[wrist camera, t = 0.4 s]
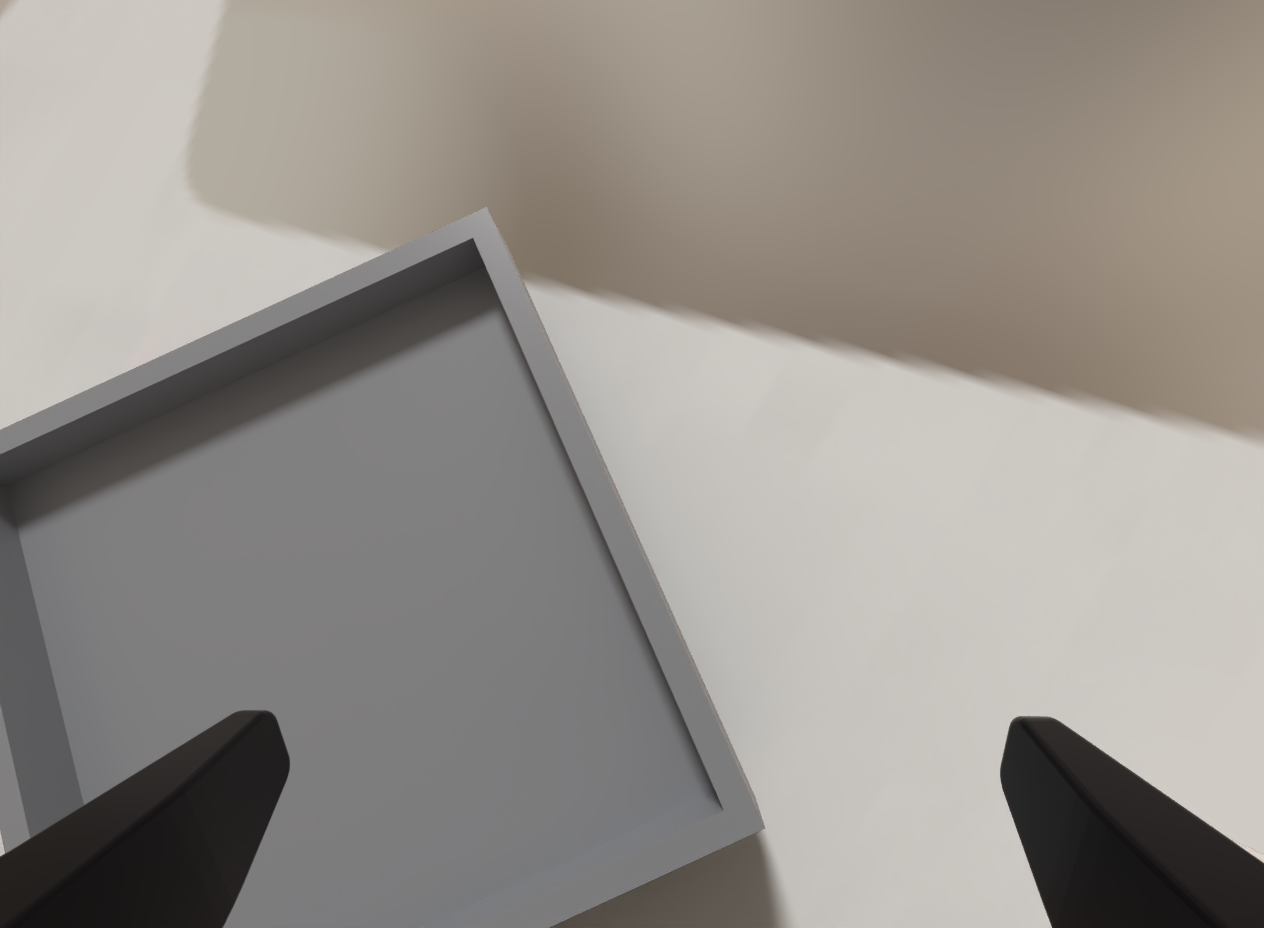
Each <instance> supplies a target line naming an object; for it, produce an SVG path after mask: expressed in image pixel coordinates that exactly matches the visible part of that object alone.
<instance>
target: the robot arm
mask: <svg viewBox="0 0 1264 928" xmlns="http://www.w3.org/2000/svg"><path fill="white" fill-rule="evenodd" d="M289 771H290V757H289V754H288V751H287V748H286V745H285V742H284V739H283V736H282V733H281V730H280V727H279V724H278V721H277V718H276V716H275V715H274V714H273V713H272V712H270V711H267V710H242V711H237V712H235V713H233V714H231V715H229V716H228V717H226V718H224V719H223V720H221V721H220V722H218V723H216V724H215V725H213V726H211V727H210V728H208V729H207V730H205V731H203V732H202V733H200V734H198V735H197V736H195V737H194V738H192V739H190V740H189V741H187V742H185V743H184V744H182V745H181V746H179V747H177V748H176V749H174V750H172V751H171V752H169V753H168V754H166V755H164V756H163V757H161V758H160V759H158V760H156V761H155V762H153V763H151V764H150V765H148V766H147V767H145V768H143V769H142V770H140V771H138V772H137V773H135V774H134V775H132V776H130V777H129V778H127V779H125V780H124V781H122V782H121V783H119V784H117V785H116V786H114V787H112V788H111V789H109V790H108V791H106V792H104V793H103V794H101V795H99V796H98V797H96V798H95V799H93V800H91V801H90V802H88V803H86V804H85V805H83V806H82V807H80V808H78V809H77V810H75V811H73V812H72V813H70V814H69V815H67V816H65V817H64V818H62V819H61V820H59V821H57V822H56V823H54V824H52V825H51V826H49V827H48V828H46V829H44V830H43V831H41V832H39V833H38V834H36V835H35V836H33V837H31V838H30V839H28V840H26V841H25V842H23V843H22V844H20V845H18V846H17V847H15V848H13V849H12V850H10V851H9V852H7V853H5V854H4V855H2V856H0V928H223V927H224V925H225V923H226V921H227V919H228V917H229V915H230V913H231V910H232V908H233V906H234V904H235V902H236V900H237V898H238V896H239V893H240V891H241V889H242V887H243V884H244V882H245V880H246V877H247V875H248V873H249V870H250V868H251V865H252V863H253V861H254V858H255V856H256V853H257V851H258V848H259V846H260V844H261V841H262V839H263V836H264V834H265V832H266V829H267V827H268V824H269V822H270V820H271V817H272V815H273V812H274V810H275V808H276V805H277V803H278V800H279V798H280V796H281V793H282V791H283V788H284V786H285V784H286V781H287V778H288V775H289ZM1000 778H1001V784H1002V789H1003V792H1004V795H1005V798H1006V800H1007V803H1008V806H1009V809H1010V812H1011V814H1012V817H1013V820H1014V823H1015V826H1016V829H1017V831H1018V834H1019V837H1020V840H1021V843H1022V845H1023V848H1024V851H1025V854H1026V857H1027V860H1028V862H1029V865H1030V868H1031V871H1032V874H1033V877H1034V879H1035V882H1036V885H1037V888H1038V891H1039V893H1040V896H1041V899H1042V902H1043V905H1044V908H1045V910H1046V913H1047V915H1048V918H1049V921H1050V923H1051V926H1052V928H1264V862H1262V861H1261V860H1259V859H1258V858H1256V857H1255V856H1254V855H1252V854H1251V853H1249V852H1248V851H1246V850H1245V849H1243V848H1242V847H1240V846H1239V845H1238V844H1236V843H1235V842H1233V841H1232V840H1230V839H1229V838H1227V837H1226V836H1225V835H1223V834H1222V833H1220V832H1219V831H1217V830H1216V829H1214V828H1213V827H1212V826H1210V825H1209V824H1207V823H1206V822H1204V821H1203V820H1201V819H1200V818H1199V817H1197V816H1196V815H1194V814H1193V813H1191V812H1190V811H1188V810H1187V809H1186V808H1184V807H1183V806H1181V805H1180V804H1178V803H1177V802H1175V801H1174V800H1173V799H1171V798H1170V797H1168V796H1167V795H1165V794H1164V793H1162V792H1161V791H1160V790H1158V789H1157V788H1155V787H1154V786H1152V785H1151V784H1149V783H1148V782H1146V781H1145V780H1144V779H1142V778H1141V777H1139V776H1138V775H1136V774H1135V773H1133V772H1132V771H1131V770H1129V769H1128V768H1126V767H1125V766H1123V765H1122V764H1120V763H1119V762H1118V761H1116V760H1115V759H1113V758H1112V757H1110V756H1109V755H1107V754H1106V753H1105V752H1103V751H1102V750H1100V749H1099V748H1097V747H1096V746H1094V745H1093V744H1092V743H1090V742H1089V741H1087V740H1086V739H1084V738H1083V737H1081V736H1080V735H1079V734H1077V733H1076V732H1074V731H1073V730H1071V729H1070V728H1068V727H1067V726H1066V725H1064V724H1063V723H1061V722H1060V721H1058V720H1056V719H1054V718H1051V717H1040V716H1019V717H1016V718H1014V719H1013V720H1012V722H1011V724H1010V726H1009V731H1008V735H1007V740H1006V744H1005V749H1004V753H1003V758H1002V762H1001V768H1000Z"/></svg>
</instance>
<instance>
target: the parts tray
mask: <svg viewBox="0 0 1264 928" xmlns="http://www.w3.org/2000/svg"><path fill="white" fill-rule="evenodd" d="M242 710H267V711H270V712H272V713H273V714H274V715H275V716H276V718H277V721H278V724H279V727H280V730H281V733H282V736H283V739H284V742H285V745H286V748H287V751H288V754H289V757H290V771H289V775H288V778H287V781H286V784H285V786H284V788H283V791H282V793H281V796H280V798H279V800H278V803H277V805H276V808H275V810H274V812H273V815H272V817H271V820H270V822H269V824H268V827H267V829H266V832H265V834H264V836H263V839H262V841H261V844H260V846H259V848H258V851H257V853H256V856H255V858H254V861H253V863H252V865H251V868H250V870H249V873H248V875H247V877H246V880H245V882H244V884H243V887H242V889H241V891H240V893H239V896H238V898H237V900H236V902H235V904H234V906H233V908H232V910H231V913H230V915H229V917H228V919H227V921H226V923H225V925H224V927H223V928H550V927H552V926H554V925H556V924H558V923H560V922H563V921H565V920H567V919H569V918H571V917H573V916H576V915H578V914H580V913H582V912H584V911H587V910H589V909H591V908H593V907H595V906H597V905H600V904H602V903H604V902H606V901H608V900H610V899H613V898H615V897H617V896H619V895H621V894H624V893H626V892H628V891H630V890H632V889H634V888H637V887H639V886H641V885H643V884H645V883H648V882H650V881H652V880H654V879H656V878H658V877H661V876H663V875H665V874H667V873H669V872H671V871H674V870H676V869H678V868H680V867H682V866H685V865H687V864H689V863H691V862H693V861H695V860H698V859H700V858H702V857H704V856H706V855H709V854H711V853H713V852H715V851H717V850H719V849H722V848H724V847H726V846H728V845H730V844H732V843H735V842H737V841H739V840H741V839H743V838H746V837H748V836H750V835H752V834H754V833H756V832H759V831H761V830H763V829H765V826H764V823H763V820H762V817H761V814H760V810H759V807H758V804H757V801H756V798H755V796H754V793H753V791H752V789H751V787H750V784H749V782H748V780H747V778H746V776H745V773H744V771H743V769H742V767H741V764H740V762H739V760H738V758H737V756H736V753H735V751H734V749H733V747H732V744H731V742H730V740H729V738H728V735H727V733H726V731H725V729H724V727H723V724H722V722H721V720H720V718H719V715H718V713H717V711H716V709H715V707H714V704H713V702H712V700H711V698H710V695H709V693H708V691H707V689H706V687H705V684H704V682H703V680H702V678H701V675H700V673H699V671H698V669H697V667H696V664H695V662H694V660H693V658H692V655H691V653H690V651H689V649H688V647H687V644H686V642H685V640H684V638H683V635H682V633H681V631H680V629H679V627H678V624H677V622H676V620H675V618H674V615H673V613H672V611H671V609H670V606H669V604H668V602H667V600H666V598H665V595H664V593H663V591H662V589H661V586H660V584H659V582H658V580H657V578H656V575H655V573H654V571H653V569H652V566H651V564H650V562H649V560H648V558H647V555H646V553H645V551H644V549H643V546H642V544H641V542H640V540H639V538H638V535H637V533H636V531H635V529H634V526H633V524H632V522H631V520H630V518H629V515H628V513H627V511H626V509H625V506H624V504H623V502H622V500H621V497H620V495H619V493H618V491H617V489H616V486H615V484H614V482H613V480H612V477H611V475H610V473H609V471H608V469H607V466H606V464H605V462H604V460H603V457H602V455H601V453H600V451H599V449H598V446H597V444H596V442H595V440H594V437H593V435H592V433H591V431H590V429H589V426H588V424H587V422H586V420H585V417H584V415H583V413H582V411H581V409H580V406H579V404H578V402H577V400H576V397H575V395H574V393H573V391H572V389H571V386H570V384H569V382H568V380H567V377H566V375H565V373H564V371H563V368H562V366H561V364H560V362H559V360H558V357H557V355H556V353H555V351H554V348H553V346H552V344H551V342H550V340H549V337H548V335H547V333H546V331H545V328H544V326H543V324H542V322H541V320H540V317H539V315H538V313H537V311H536V308H535V306H534V304H533V302H532V300H531V297H530V295H529V293H528V291H527V288H526V286H525V284H524V282H523V280H522V277H521V275H520V273H519V271H518V268H517V266H516V264H515V262H514V260H513V257H512V255H511V253H510V251H509V249H508V246H507V245H506V243H505V241H504V239H503V237H502V235H501V233H500V231H499V230H498V228H497V226H496V224H495V222H494V220H493V218H492V216H491V214H490V213H489V211H488V209H487V207H486V208H484V209H481V210H479V211H477V212H475V213H472V214H470V215H468V216H466V217H464V218H462V219H459V220H458V221H455V222H453V223H451V224H448V225H446V226H444V227H442V228H440V229H438V230H436V231H433V232H431V233H429V234H427V235H424V236H422V237H420V238H418V239H416V240H414V241H411V242H409V243H407V244H405V245H403V246H400V247H398V248H396V249H394V250H392V251H390V252H387V253H385V254H383V255H381V256H379V257H376V258H374V259H372V260H370V261H368V262H365V263H363V264H361V265H359V266H357V267H355V268H352V269H350V270H348V271H346V272H344V273H341V274H339V275H337V276H335V277H333V278H331V279H328V280H326V281H324V282H322V283H320V284H317V285H315V286H313V287H311V288H309V289H307V290H304V291H302V292H300V293H298V294H296V295H293V296H291V297H289V298H287V299H285V300H283V301H280V302H278V303H276V304H274V305H272V306H269V307H267V308H265V309H263V310H261V311H259V312H256V313H254V314H252V315H250V316H248V317H245V318H243V319H241V320H239V321H237V322H235V323H232V324H230V325H228V326H226V327H224V328H221V329H219V330H217V331H215V332H213V333H211V334H208V335H206V336H204V337H202V338H200V339H197V340H195V341H193V342H191V343H189V344H187V345H184V346H182V347H180V348H178V349H176V350H173V351H171V352H169V353H167V354H165V355H163V356H160V357H158V358H156V359H154V360H152V361H149V362H147V363H145V364H143V365H141V366H139V367H136V368H134V369H132V370H130V371H128V372H125V373H123V374H121V375H119V376H117V377H114V378H112V379H110V380H108V381H106V382H104V383H101V384H99V385H97V386H95V387H93V388H90V389H88V390H86V391H84V392H82V393H80V394H77V395H75V396H73V397H71V398H69V399H66V400H64V401H62V402H60V403H58V404H56V405H53V406H51V407H49V408H47V409H45V410H42V411H40V412H38V413H36V414H34V415H32V416H29V417H27V418H25V419H23V420H21V421H18V422H16V423H14V424H12V425H10V426H8V427H5V428H3V429H1V430H0V831H1V836H2V840H3V845H4V850H5V853H7V852H9V851H10V850H12V849H13V848H15V847H17V846H18V845H20V844H22V843H23V842H25V841H26V840H28V839H30V838H31V837H33V836H35V835H36V834H38V833H39V832H41V831H43V830H44V829H46V828H48V827H49V826H51V825H52V824H54V823H56V822H57V821H59V820H61V819H62V818H64V817H65V816H67V815H69V814H70V813H72V812H73V811H75V810H77V809H78V808H80V807H82V806H83V805H85V804H86V803H88V802H90V801H91V800H93V799H95V798H96V797H98V796H99V795H101V794H103V793H104V792H106V791H108V790H109V789H111V788H112V787H114V786H116V785H117V784H119V783H121V782H122V781H124V780H125V779H127V778H129V777H130V776H132V775H134V774H135V773H137V772H138V771H140V770H142V769H143V768H145V767H147V766H148V765H150V764H151V763H153V762H155V761H156V760H158V759H160V758H161V757H163V756H164V755H166V754H168V753H169V752H171V751H172V750H174V749H176V748H177V747H179V746H181V745H182V744H184V743H185V742H187V741H189V740H190V739H192V738H194V737H195V736H197V735H198V734H200V733H202V732H203V731H205V730H207V729H208V728H210V727H211V726H213V725H215V724H216V723H218V722H220V721H221V720H223V719H224V718H226V717H228V716H229V715H231V714H233V713H235V712H237V711H242Z"/></svg>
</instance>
